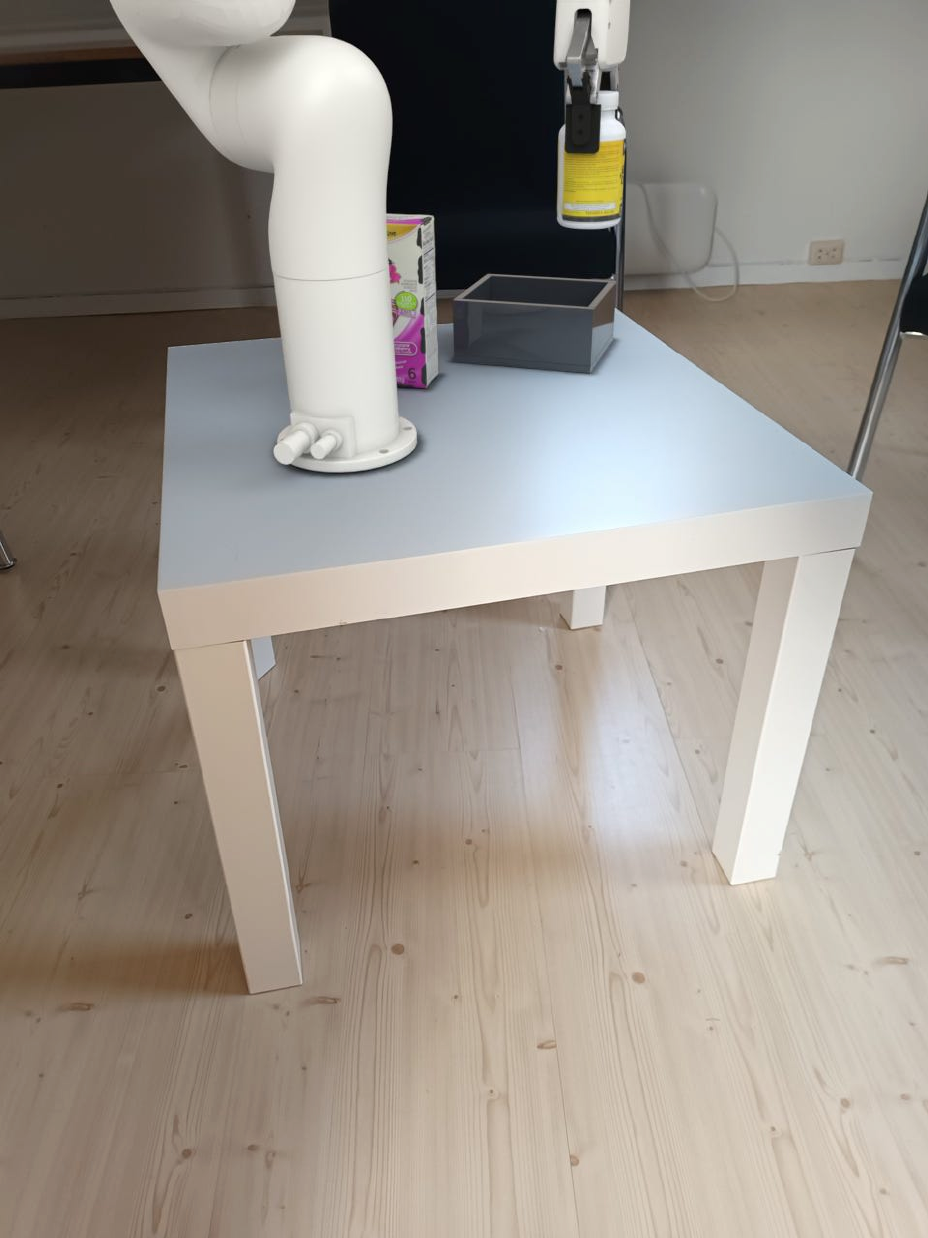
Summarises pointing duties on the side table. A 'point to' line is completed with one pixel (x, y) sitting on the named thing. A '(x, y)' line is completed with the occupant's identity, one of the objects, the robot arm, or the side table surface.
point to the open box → (534, 322)
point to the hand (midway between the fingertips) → (591, 145)
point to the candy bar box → (413, 298)
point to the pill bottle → (593, 175)
